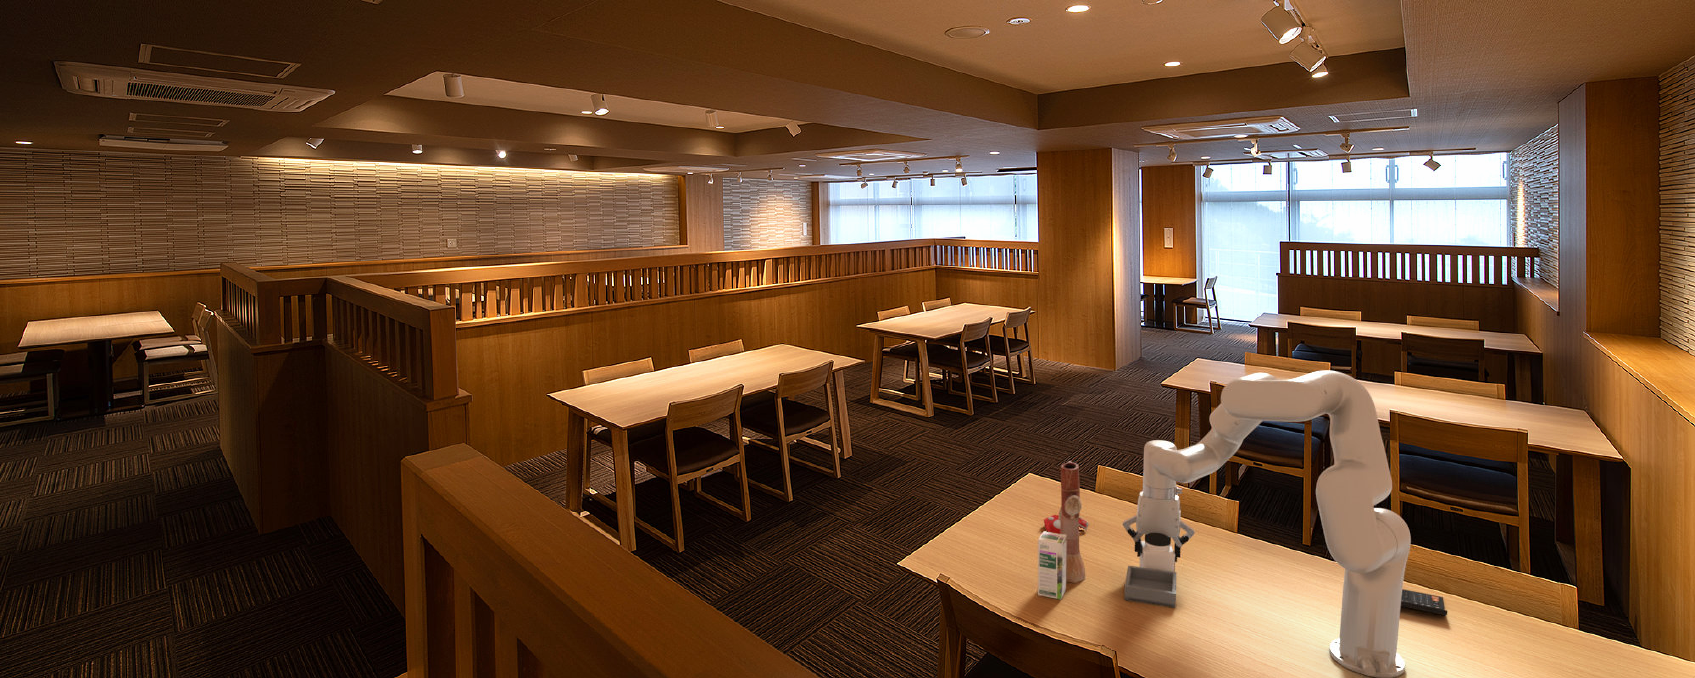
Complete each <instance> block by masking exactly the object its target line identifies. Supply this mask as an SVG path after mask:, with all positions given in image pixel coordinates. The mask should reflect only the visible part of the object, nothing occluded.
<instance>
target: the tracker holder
mask: <svg viewBox="0 0 1695 678" xmlns="http://www.w3.org/2000/svg"><path fill="white" fill-rule="evenodd" d="M1043 523H1044V529H1045V528H1046V529H1045V531H1046V530H1047V531H1048V532H1050V533H1057V534H1060V528H1061V526H1060V521H1059V514H1058V515H1057V514H1053V515H1050V516H1048V517H1046V518H1044V519H1043ZM1089 524H1090V522H1089V521H1087V520H1085V519H1084V518H1083V517H1080V516H1079V527H1080V528H1083V529H1085V530H1084V531H1087V530H1088V527H1089ZM1047 531H1046V532H1047Z"/></svg>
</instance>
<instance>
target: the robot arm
mask: <svg viewBox="0 0 1695 678" xmlns="http://www.w3.org/2000/svg"><path fill="white" fill-rule="evenodd" d="M1376 409H1377V408H1376V406H1375V402H1374V400H1373V398H1372V396H1371V394H1370V392H1369V390H1367V388H1366V387H1365V386H1364V385H1363V384H1362V383H1361V382H1360V381H1358V380H1357V379H1355V378H1354V377H1352V376H1350V375H1349V374H1346V373H1343V372H1340V371H1335V370H1317V371H1313V372H1310V373H1306V374H1303V375H1301V376H1298V377H1297V376H1296V377H1294V378H1291V379H1278V378H1277V377H1276V376H1274V375H1272V374H1270V373H1266V372H1255V373H1251V374H1248V375H1247V374H1246V375H1244V376H1241V377H1237V378H1235V379H1233V380H1230V381H1229V382H1228V383H1226V385H1225V386H1224V387H1223V388H1222V391H1221V395H1220V403H1219V405H1218V406H1217V407H1216V408H1215V409H1214V410H1213V411H1212V412H1211V413H1210V415H1209V423H1210V426H1211V429H1210V430H1209V431H1208V433H1207V434H1206V435H1204V437H1203V438H1202V439H1201V440H1200V441H1199V442H1197V443H1196V444H1193V445H1191V446H1188V447H1185V448H1183V449H1182V448H1181V449H1178V448H1177V446H1176V445H1175V444H1174V443H1173V442H1170V441H1167V440H1159V439H1156V440H1154V439H1153V440H1149V441H1147V442H1146V443H1145V444H1144V447H1143V474H1142V475H1143V476H1142V491H1140V492H1139V494H1138V499H1137V509H1136V515H1135V514H1134V516H1131V517H1129V518H1127V519H1125V520H1123V521H1122V526H1123V528H1124V529H1125V531H1126V532H1127V534H1128V535H1129V536H1130V537H1131V538H1132V539H1133V541H1134V552H1135V553H1137V554H1136V557H1137V558H1140V555H1141V541H1142V537H1143V536H1145V534H1146V535H1147V534H1149V533H1161V534H1165V535H1167V536H1168V537H1171V540H1173V542H1174V549H1173V551H1174V553H1175V563H1177V562H1178V558H1179V559H1180V558H1181V552H1182V551H1181V547H1183V545H1185V544H1187V542H1189V540H1190V539H1192V537H1194V535H1195V533H1196V531H1195V529H1194V528H1192V527H1191V526H1190V525H1189V524H1187V523H1185V522H1184V521H1183V520H1181V517H1182V516H1181V501H1180V497H1179V496H1178V495H1182V494H1183V488H1182V487H1178V486H1177V483H1179V484H1188V483H1192V482H1194V481H1196V480H1199V479H1200V478H1201V479H1202V478H1203V477H1206V476H1208V475H1210V474H1213V473H1215V472H1216V471H1218V470H1219V469H1220V468H1222V467H1223V465H1224V464H1225V463H1226V462H1228V461H1229V460H1230V459H1231V458H1232V457H1233V456H1234V455H1235V454H1236V453H1237V451H1239V449H1240V447H1241V445H1242V443H1243V441H1244V439H1245V438H1246V437H1248V435H1250V433H1252V432H1253V431H1254V430H1255V429H1256V428H1257V427H1258V426H1259V425H1260V424H1261V423H1262V422H1263V421H1264V422H1265V421H1266V422H1287V423H1288V422H1289V423H1294V422H1295V423H1297V422H1298V423H1299V422H1306V421H1310V420H1312V419H1315V418H1318V417H1321V416H1323V415H1326V414H1327V415H1328V416H1329V419H1330V421H1329V423H1330V424H1329V439H1330V444H1331V448H1332V453H1333V459H1334V464H1333V465H1331V466H1329V467H1327V468H1326V469H1325V470H1323V471H1322V472H1321V474H1320V475H1319V476H1318V479H1317V482H1316V487H1315V495H1316V496H1315V497H1316V503H1317V506H1318V511H1319V512H1318V513H1319V516H1320V521H1321V526H1322V529H1323V535H1324V539H1325V543H1326V546H1327V550H1328V551H1329V553H1330V555H1331V557H1332V558H1333V560H1334V561H1335V562H1336V564H1338V565H1339V566H1340V567H1342V568H1343V569H1344V576H1343V586H1342V600H1341V613H1340V627H1339V637H1338V638H1337V639H1334V640H1333V641H1331V642H1330V644H1329V653H1330V656H1331V657H1332V659H1334V661H1336V662H1337V663H1338V664H1339V665H1341V666H1343V667H1345V668H1346V669H1347V670H1350V671H1353V672H1355V673H1358V674H1360V673H1361V675H1363V674H1364V676H1368V677H1372V678H1373V677H1374V678H1396V677H1399V676H1400V675H1402V674H1403V673H1405V670H1406V662H1405V660H1404V658H1403V657H1402V656H1401V655H1400V654H1399V653H1398V652H1397V650H1398V640H1399V630H1400V629H1399V628H1400V618H1401V607H1402V606H1401V596H1402V589H1404V588H1403V586H1404V578H1405V571H1406V566H1407V561H1408V558H1409V554H1410V551H1411V550H1410V549H1411V543H1412V541H1411V540H1412V539H1411V538H1412V537H1411V533H1410V529H1409V527H1408V524H1407V523H1406V522H1405V520H1404V519H1403V518H1402V517H1401V516H1400V515H1399V514H1397V513H1396V512H1394V511H1392V510H1390V509H1387V508H1381V507H1374V506H1377V504H1379V503H1381V502H1382V501H1384V500H1386V499H1387V498H1388V497H1389V495H1391V492H1392V490H1393V481H1392V476H1391V471H1390V468H1389V462H1388V458H1387V453H1386V450H1385V446H1384V442H1383V441H1384V440H1383V438H1382V434H1381V428H1380V423H1379V419H1378V414H1377V410H1376ZM1135 523H1136V525H1135V526H1136V527H1135V528H1136V530H1135V529H1134V528H1133V527H1132V526H1131V525H1134V524H1135ZM1181 529H1182V530H1183V531H1185V532H1186V533H1185V534H1183V535H1182V536H1180V534H1181Z"/></svg>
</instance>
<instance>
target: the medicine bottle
mask: <svg viewBox="0 0 1695 678" xmlns="http://www.w3.org/2000/svg"><path fill="white" fill-rule="evenodd" d="M1171 543H1172V538H1171V537H1168V536H1167V535H1165V534H1161V533H1149V534H1147V535H1146V534H1144V540H1141V555H1140V556H1139V567H1142V568H1149V569H1156V570H1163V571H1170V572H1176V562H1175V553H1174V549H1173V547H1172V544H1171Z"/></svg>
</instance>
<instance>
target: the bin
mask: <svg viewBox="0 0 1695 678" xmlns="http://www.w3.org/2000/svg"><path fill="white" fill-rule="evenodd" d="M1124 583H1125V584H1124V601H1127V602H1128V601H1129V602H1135V603H1142V604H1148V605H1153V606H1161V607H1167V608H1174V609H1177V608H1176V607H1177V605H1176V603H1177V572H1176V571H1175V572H1170V571H1163V570H1156V569H1149V568H1142V567H1140V566H1134V565H1127V571H1126V576H1125V582H1124Z"/></svg>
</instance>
